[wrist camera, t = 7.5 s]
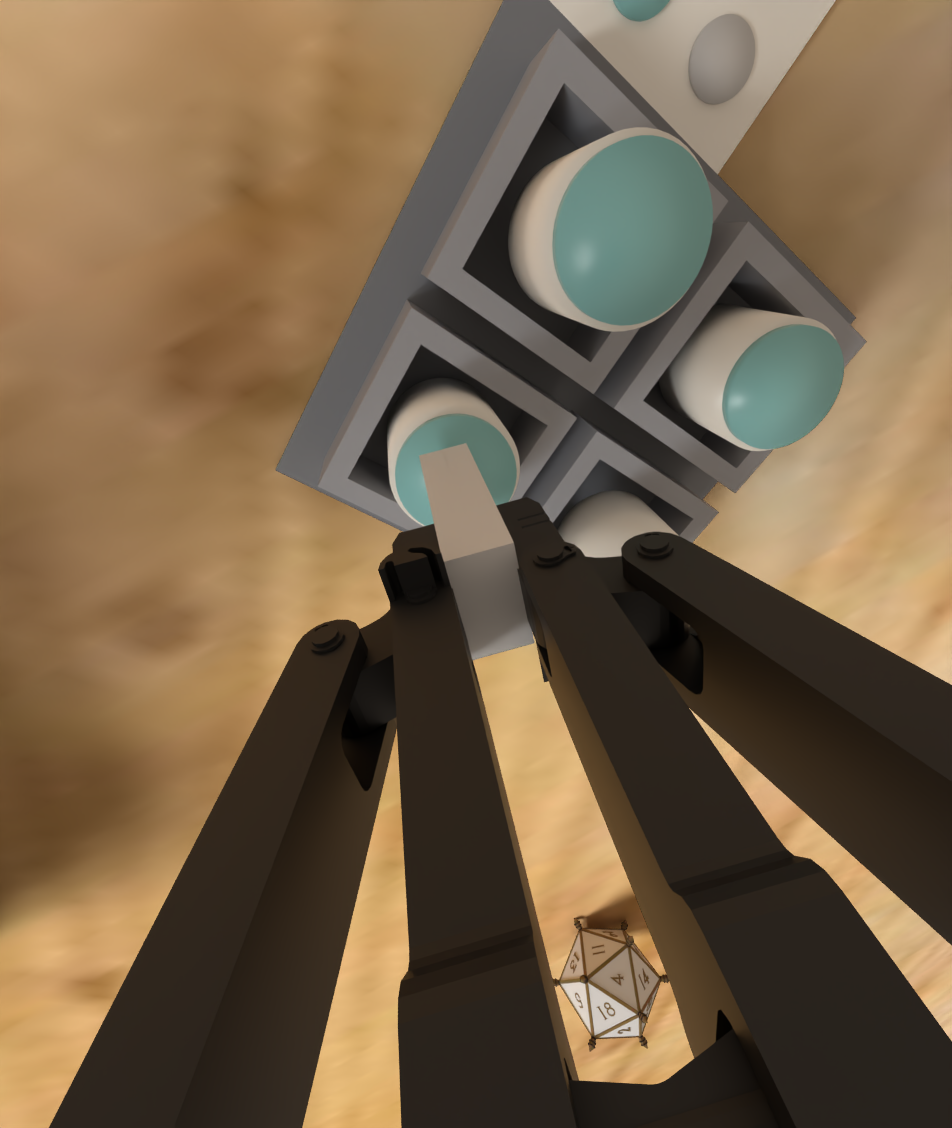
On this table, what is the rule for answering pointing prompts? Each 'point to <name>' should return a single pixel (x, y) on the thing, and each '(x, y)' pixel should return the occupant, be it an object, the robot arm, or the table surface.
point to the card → (700, 58)
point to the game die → (609, 983)
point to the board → (523, 328)
